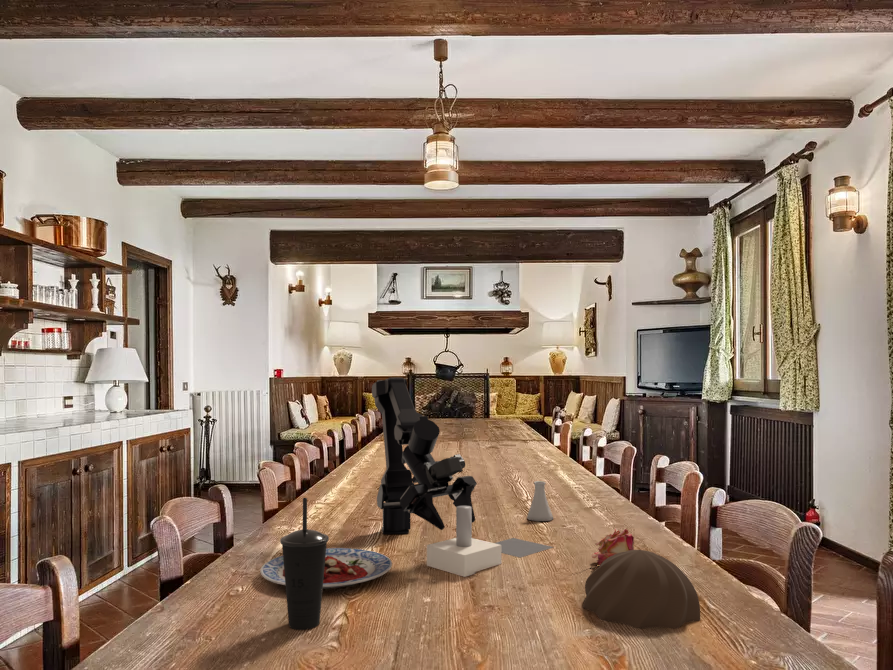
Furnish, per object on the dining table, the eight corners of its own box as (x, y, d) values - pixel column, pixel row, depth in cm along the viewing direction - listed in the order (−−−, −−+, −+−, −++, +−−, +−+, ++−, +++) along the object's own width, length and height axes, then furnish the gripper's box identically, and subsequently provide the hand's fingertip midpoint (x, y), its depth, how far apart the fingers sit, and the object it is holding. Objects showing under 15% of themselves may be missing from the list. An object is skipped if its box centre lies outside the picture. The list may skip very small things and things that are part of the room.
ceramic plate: (277, 606, 118) (278, 589, 118) (248, 568, 140) (248, 553, 141) (413, 584, 129) (413, 568, 130) (365, 552, 152) (365, 539, 152)
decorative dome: (719, 631, 106) (718, 566, 106) (591, 629, 107) (590, 564, 107) (683, 591, 125) (682, 536, 126) (574, 589, 126) (574, 535, 127)
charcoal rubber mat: (479, 548, 154) (479, 547, 154) (513, 539, 162) (513, 537, 162) (520, 559, 145) (520, 557, 145) (553, 548, 154) (553, 547, 154)
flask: (552, 522, 180) (552, 484, 181) (525, 521, 182) (525, 483, 182) (554, 516, 187) (553, 480, 188) (527, 515, 189) (527, 479, 189)
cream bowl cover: (426, 565, 141) (426, 507, 142) (463, 555, 149) (463, 500, 149) (464, 576, 133) (464, 515, 134) (501, 565, 141) (501, 507, 142)
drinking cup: (283, 616, 112) (284, 494, 113) (330, 614, 113) (330, 493, 114) (275, 634, 105) (277, 503, 106) (325, 632, 105) (326, 502, 106)
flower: (648, 556, 141) (626, 522, 144) (646, 558, 133) (622, 522, 136) (609, 580, 142) (587, 546, 146) (604, 584, 134) (582, 548, 137)
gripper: (408, 446, 141) (446, 508, 132) (470, 439, 154) (508, 495, 145) (384, 480, 146) (419, 541, 138) (446, 470, 159) (481, 526, 151)
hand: (458, 525), depth 143 cm, fingers open, 9 cm apart
